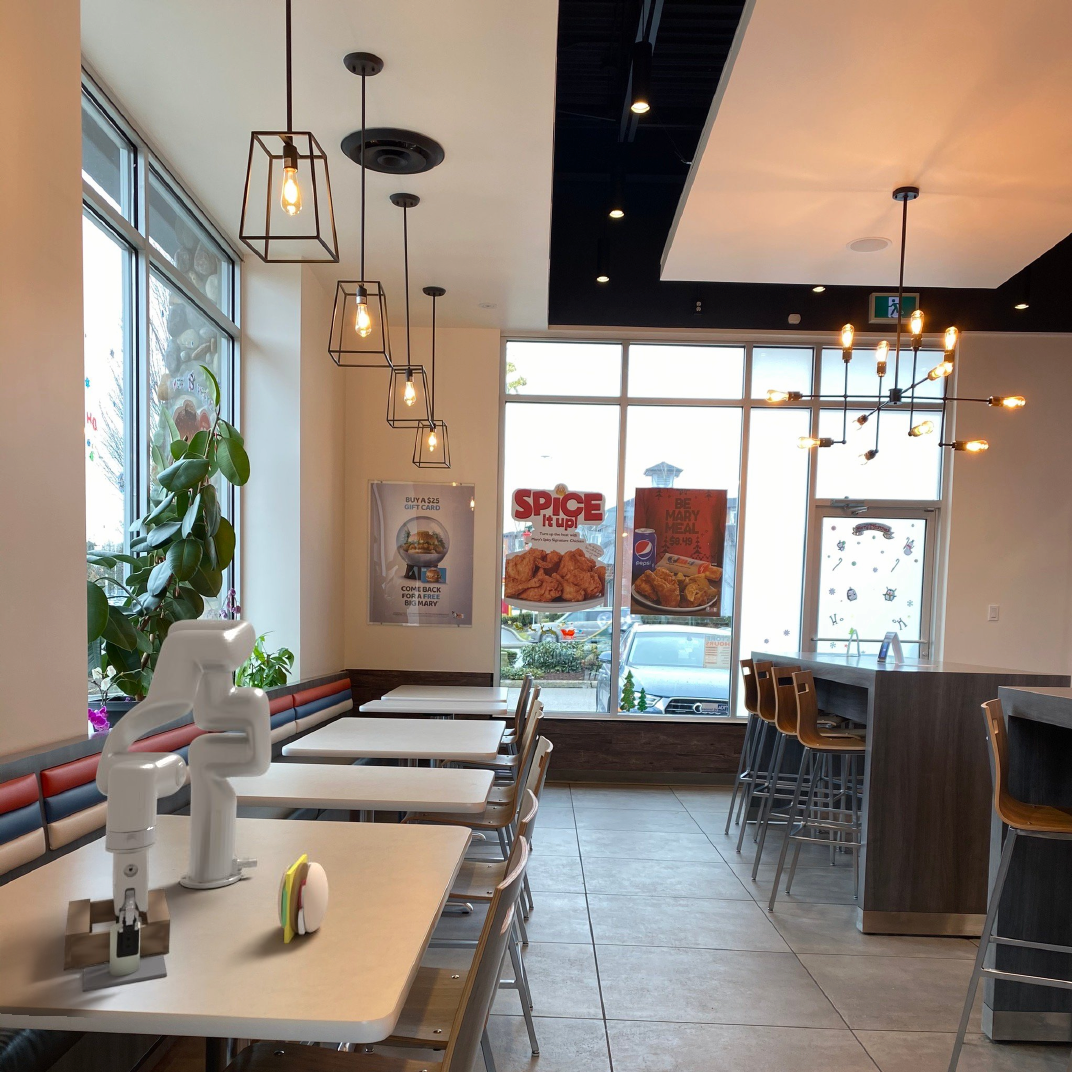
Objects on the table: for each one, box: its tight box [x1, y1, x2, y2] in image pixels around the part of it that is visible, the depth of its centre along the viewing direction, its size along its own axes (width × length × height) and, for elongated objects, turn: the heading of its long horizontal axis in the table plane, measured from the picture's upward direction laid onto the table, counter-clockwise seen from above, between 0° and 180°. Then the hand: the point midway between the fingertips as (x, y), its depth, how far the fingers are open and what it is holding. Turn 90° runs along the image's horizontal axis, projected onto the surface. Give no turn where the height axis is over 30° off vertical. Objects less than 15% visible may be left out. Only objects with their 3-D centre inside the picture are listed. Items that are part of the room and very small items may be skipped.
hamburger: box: [277, 854, 329, 944], centre depth 157 cm, size 12×8×12 cm
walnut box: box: [63, 888, 171, 971], centre depth 151 cm, size 16×18×6 cm
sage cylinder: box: [109, 922, 141, 976], centre depth 138 cm, size 4×4×7 cm
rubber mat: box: [82, 954, 168, 992], centre depth 138 cm, size 12×8×1 cm, turn 117°
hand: (126, 944), depth 139 cm, fingers open, 9 cm apart
